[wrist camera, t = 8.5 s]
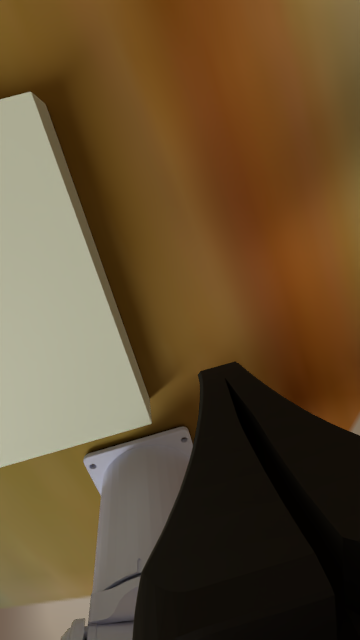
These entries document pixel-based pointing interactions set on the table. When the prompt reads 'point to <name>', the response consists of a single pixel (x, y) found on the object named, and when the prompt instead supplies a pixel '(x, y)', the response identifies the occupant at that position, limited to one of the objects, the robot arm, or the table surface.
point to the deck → (55, 304)
